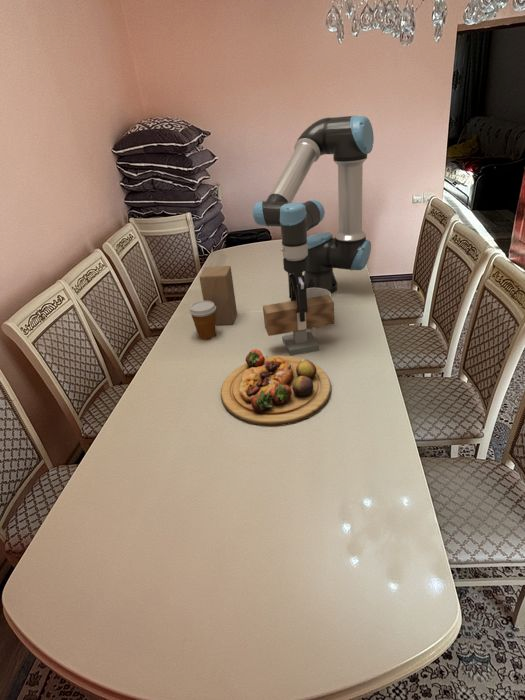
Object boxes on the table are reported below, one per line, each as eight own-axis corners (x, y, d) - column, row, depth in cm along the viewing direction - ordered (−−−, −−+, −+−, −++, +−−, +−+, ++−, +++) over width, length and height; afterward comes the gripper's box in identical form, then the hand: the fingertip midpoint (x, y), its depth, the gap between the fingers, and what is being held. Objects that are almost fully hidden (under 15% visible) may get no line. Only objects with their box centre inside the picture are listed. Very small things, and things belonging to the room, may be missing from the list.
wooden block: (237, 313, 178) (230, 265, 168) (233, 325, 170) (226, 275, 160) (212, 314, 180) (204, 266, 170) (207, 326, 171) (198, 276, 161)
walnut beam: (328, 316, 152) (328, 294, 148) (334, 324, 147) (334, 301, 143) (265, 327, 149) (262, 305, 145) (268, 336, 144) (266, 313, 140)
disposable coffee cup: (189, 340, 163) (183, 310, 157) (202, 328, 170) (197, 299, 164) (212, 343, 159) (207, 312, 153) (224, 330, 166) (220, 301, 160)
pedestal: (310, 336, 157) (309, 319, 154) (319, 350, 148) (318, 332, 145) (282, 341, 156) (281, 324, 152) (289, 355, 147) (288, 338, 144)
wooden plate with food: (215, 372, 143) (211, 350, 139) (312, 353, 147) (311, 331, 143) (229, 439, 116) (225, 415, 112) (347, 414, 120) (347, 389, 116)
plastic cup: (333, 328, 160) (332, 297, 154) (302, 330, 161) (300, 299, 155) (330, 315, 169) (329, 285, 163) (301, 317, 170) (299, 287, 164)
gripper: (276, 249, 144) (281, 314, 156) (291, 269, 128) (295, 340, 139) (299, 246, 145) (302, 310, 156) (316, 265, 129) (319, 335, 140)
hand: (299, 324), depth 148 cm, fingers closed on walnut beam, 6 cm apart
